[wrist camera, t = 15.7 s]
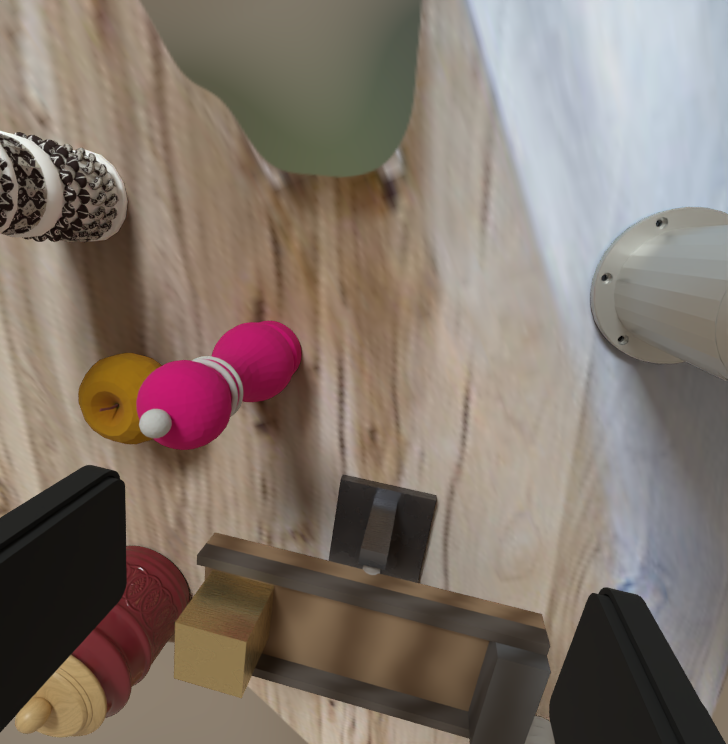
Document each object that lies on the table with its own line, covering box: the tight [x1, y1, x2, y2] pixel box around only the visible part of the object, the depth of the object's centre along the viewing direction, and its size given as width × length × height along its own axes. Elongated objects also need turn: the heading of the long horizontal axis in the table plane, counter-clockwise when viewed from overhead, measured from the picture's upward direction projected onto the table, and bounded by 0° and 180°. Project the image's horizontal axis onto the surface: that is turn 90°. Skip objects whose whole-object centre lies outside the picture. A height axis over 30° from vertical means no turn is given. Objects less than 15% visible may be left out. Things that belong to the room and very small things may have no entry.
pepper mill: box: [136, 321, 301, 450], centre depth 35 cm, size 7×7×20 cm
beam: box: [197, 533, 551, 744], centre depth 40 cm, size 30×13×6 cm, turn 81°
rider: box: [174, 570, 274, 698], centre depth 39 cm, size 6×6×6 cm
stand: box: [329, 475, 436, 583], centre depth 45 cm, size 10×20×9 cm, turn 171°
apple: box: [78, 353, 162, 444], centre depth 44 cm, size 9×9×9 cm
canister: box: [15, 546, 190, 737], centre depth 48 cm, size 13×13×18 cm
